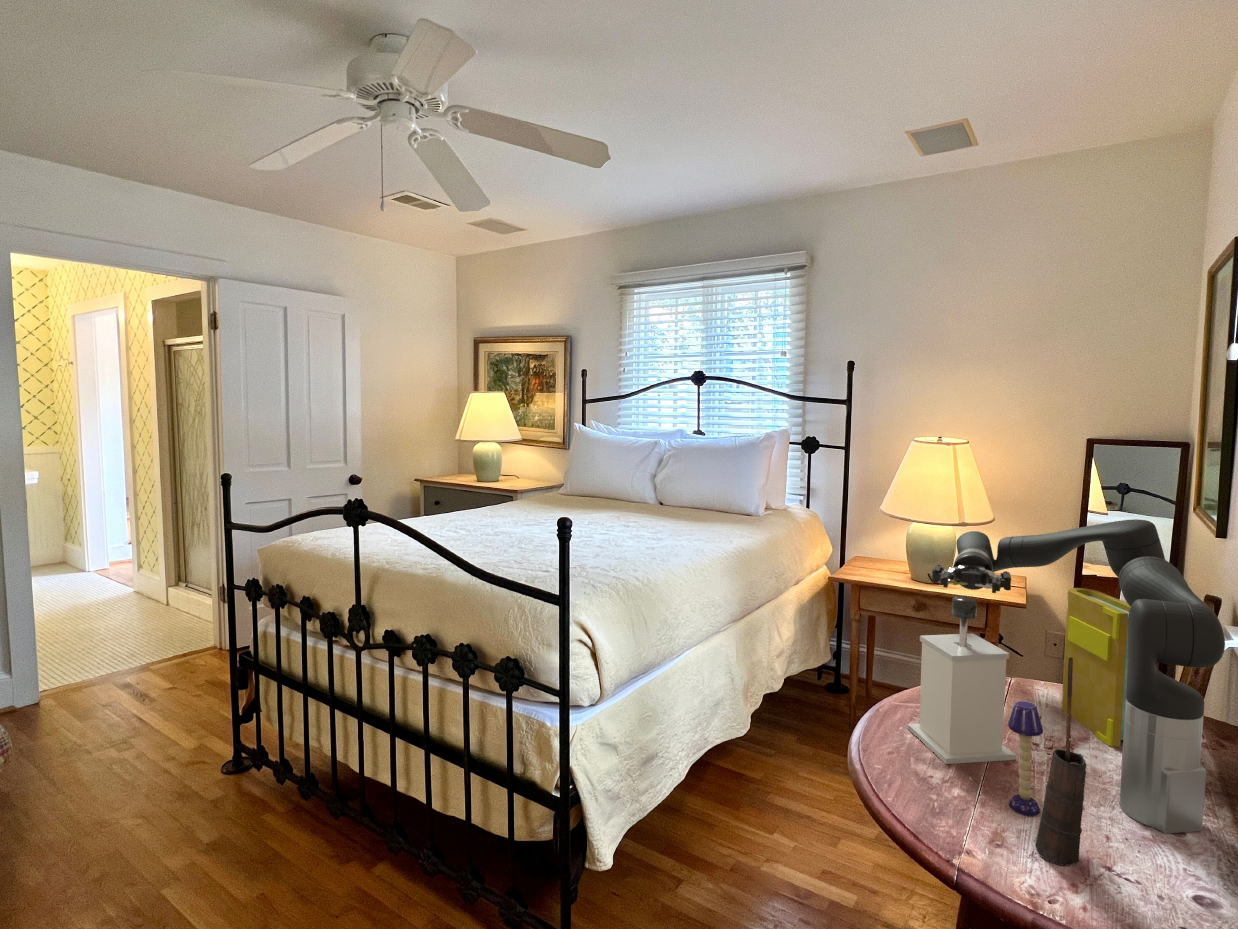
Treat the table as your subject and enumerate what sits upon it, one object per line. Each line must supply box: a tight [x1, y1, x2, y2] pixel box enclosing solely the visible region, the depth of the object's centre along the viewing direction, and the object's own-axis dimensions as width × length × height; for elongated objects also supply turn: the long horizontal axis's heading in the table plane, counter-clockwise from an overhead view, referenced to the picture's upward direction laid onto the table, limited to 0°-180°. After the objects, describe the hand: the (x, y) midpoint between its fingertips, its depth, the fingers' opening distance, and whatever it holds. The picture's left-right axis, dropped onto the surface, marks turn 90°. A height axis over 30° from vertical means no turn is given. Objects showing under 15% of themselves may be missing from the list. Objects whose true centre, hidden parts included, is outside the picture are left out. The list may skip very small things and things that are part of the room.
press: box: [907, 633, 1017, 765], centre depth 126 cm, size 13×13×19 cm
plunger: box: [951, 595, 978, 647], centre depth 126 cm, size 8×8×26 cm
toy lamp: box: [1007, 700, 1044, 817], centre depth 106 cm, size 5×5×17 cm
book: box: [1061, 587, 1130, 747], centre depth 133 cm, size 17×7×25 cm, turn 179°
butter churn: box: [1035, 657, 1087, 867], centre depth 94 cm, size 9×10×28 cm
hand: (969, 585), depth 135 cm, fingers open, 8 cm apart
